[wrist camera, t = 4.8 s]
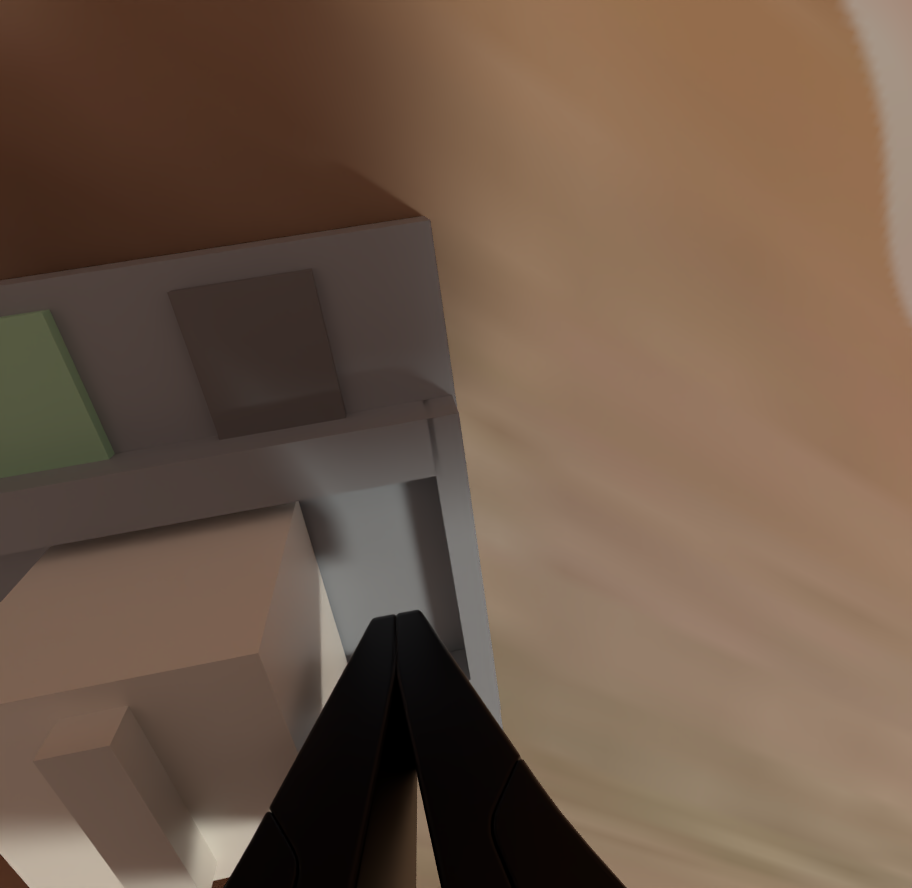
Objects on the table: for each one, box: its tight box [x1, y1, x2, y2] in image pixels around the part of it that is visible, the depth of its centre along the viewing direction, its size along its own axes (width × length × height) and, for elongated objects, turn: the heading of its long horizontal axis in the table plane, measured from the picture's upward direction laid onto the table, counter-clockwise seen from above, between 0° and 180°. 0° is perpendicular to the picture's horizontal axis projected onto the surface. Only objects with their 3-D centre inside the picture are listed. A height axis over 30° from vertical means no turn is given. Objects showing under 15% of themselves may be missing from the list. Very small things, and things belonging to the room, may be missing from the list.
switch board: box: [0, 216, 503, 730], centre depth 10 cm, size 12×11×2 cm
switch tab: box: [0, 501, 347, 888], centre depth 8 cm, size 4×4×4 cm
